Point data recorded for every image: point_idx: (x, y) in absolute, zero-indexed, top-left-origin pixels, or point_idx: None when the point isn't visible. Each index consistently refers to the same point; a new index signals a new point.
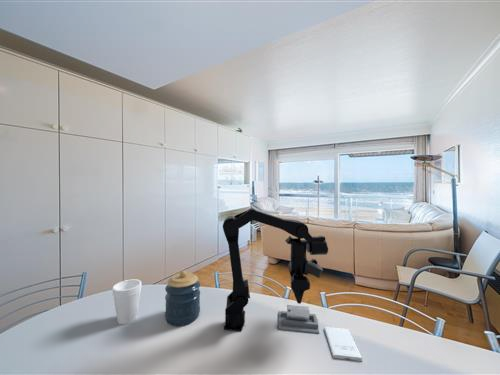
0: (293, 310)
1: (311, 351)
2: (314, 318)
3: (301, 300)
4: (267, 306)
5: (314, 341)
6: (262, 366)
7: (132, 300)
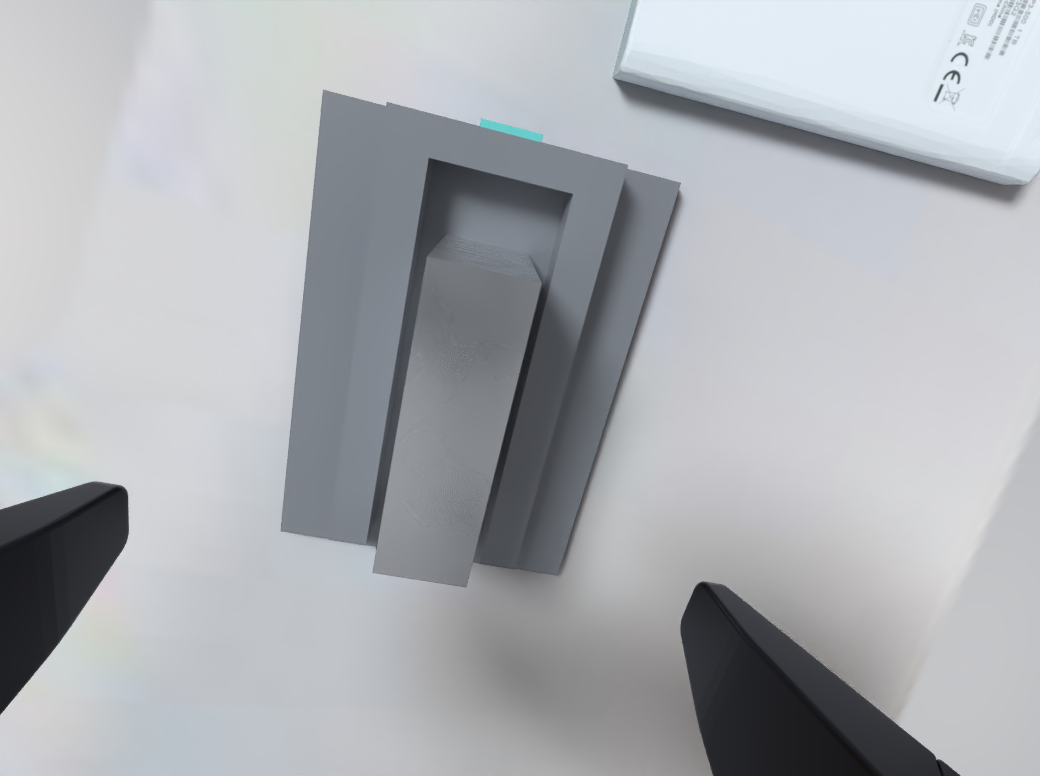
0: (486, 501)
1: (872, 362)
2: (489, 163)
3: (793, 642)
4: (179, 609)
5: (769, 287)
6: (879, 701)
7: None
